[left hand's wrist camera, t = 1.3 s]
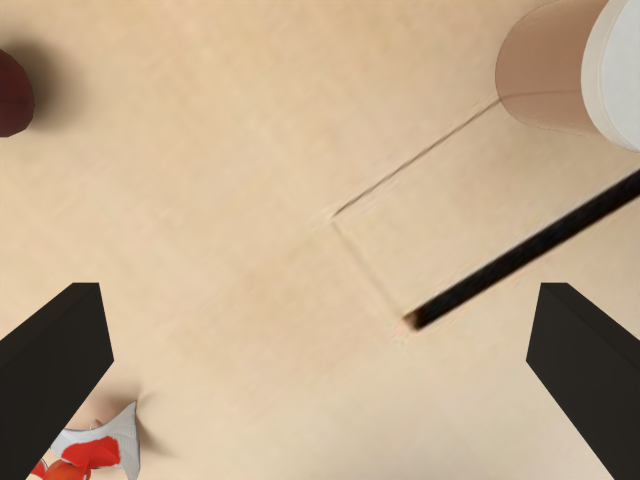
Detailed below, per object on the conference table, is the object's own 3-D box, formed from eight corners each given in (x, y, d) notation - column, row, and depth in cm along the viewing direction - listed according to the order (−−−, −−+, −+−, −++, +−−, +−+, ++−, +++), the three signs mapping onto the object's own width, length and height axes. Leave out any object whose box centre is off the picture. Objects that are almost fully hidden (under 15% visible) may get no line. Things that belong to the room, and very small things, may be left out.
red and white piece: (-25, 453, 45) (-37, 539, 37) (105, 354, 48) (119, 414, 41) (51, 489, 51) (55, 569, 44) (161, 400, 55) (183, 459, 47)
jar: (486, 125, 38) (583, 148, 24) (506, -1, 35) (633, -61, 21) (596, 129, 38) (758, 154, 24) (627, 3, 35) (837, -53, 21)
